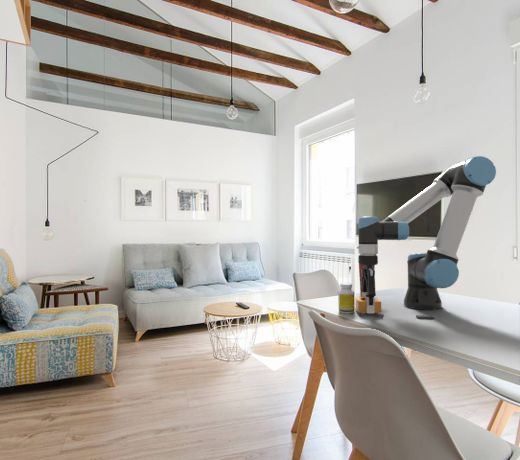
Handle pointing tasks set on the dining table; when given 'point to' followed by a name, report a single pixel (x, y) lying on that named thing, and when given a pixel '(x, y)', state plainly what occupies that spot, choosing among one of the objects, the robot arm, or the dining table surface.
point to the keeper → (370, 313)
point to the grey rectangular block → (425, 317)
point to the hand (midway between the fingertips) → (368, 310)
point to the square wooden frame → (362, 305)
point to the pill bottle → (346, 298)
